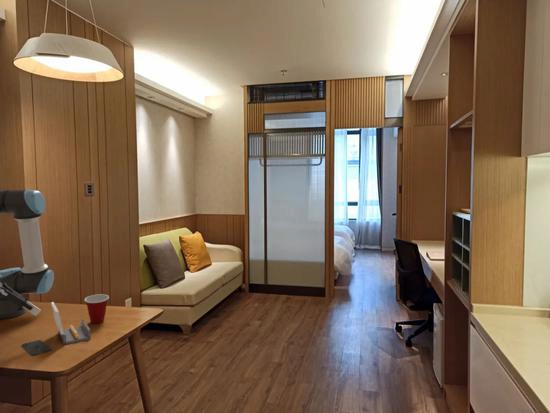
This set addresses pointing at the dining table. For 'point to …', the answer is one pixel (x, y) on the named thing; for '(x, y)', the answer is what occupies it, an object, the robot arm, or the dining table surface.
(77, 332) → the cable duct
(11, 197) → the robot arm
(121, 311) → the dining table surface
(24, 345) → the smartphone
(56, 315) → the block
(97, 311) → the plastic cup
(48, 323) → the dining table surface
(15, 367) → the dining table surface
